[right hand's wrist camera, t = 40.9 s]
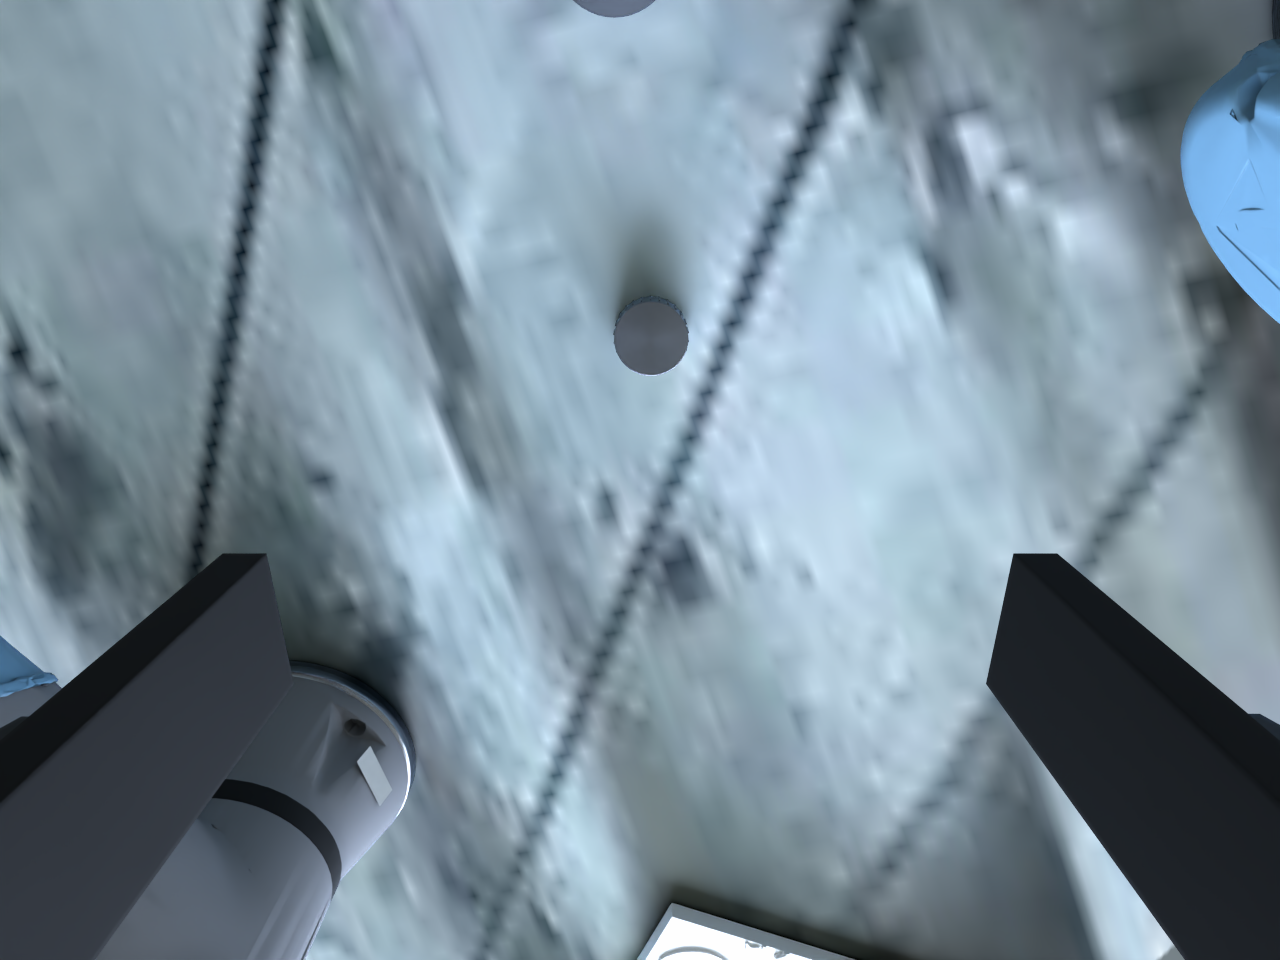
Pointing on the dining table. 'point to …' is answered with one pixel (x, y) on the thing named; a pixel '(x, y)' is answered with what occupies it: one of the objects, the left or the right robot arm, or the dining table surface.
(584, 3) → the bottle
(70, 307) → the dining table surface
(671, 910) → the relief map
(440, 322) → the dining table surface
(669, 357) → the cap
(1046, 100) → the dining table surface
